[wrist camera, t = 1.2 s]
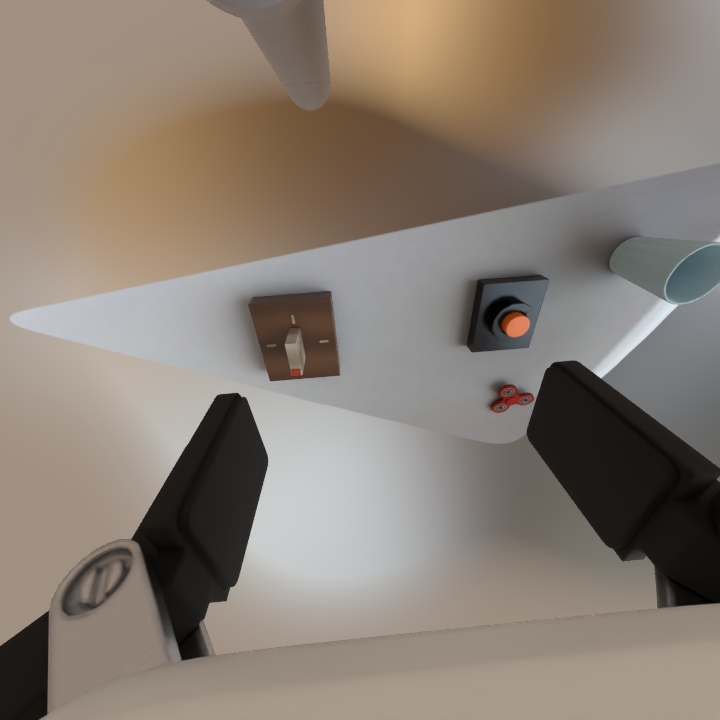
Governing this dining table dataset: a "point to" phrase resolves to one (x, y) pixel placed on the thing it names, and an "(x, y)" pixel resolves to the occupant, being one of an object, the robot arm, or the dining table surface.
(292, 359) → the red-tipped white slab
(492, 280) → the button block
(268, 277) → the dining table surface
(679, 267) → the cup
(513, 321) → the button
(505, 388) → the fidget spinner
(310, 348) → the panel
